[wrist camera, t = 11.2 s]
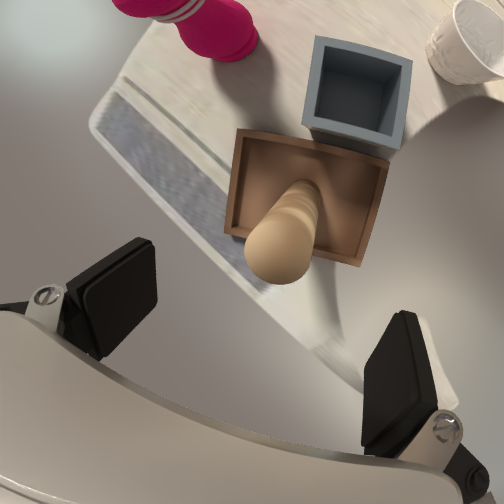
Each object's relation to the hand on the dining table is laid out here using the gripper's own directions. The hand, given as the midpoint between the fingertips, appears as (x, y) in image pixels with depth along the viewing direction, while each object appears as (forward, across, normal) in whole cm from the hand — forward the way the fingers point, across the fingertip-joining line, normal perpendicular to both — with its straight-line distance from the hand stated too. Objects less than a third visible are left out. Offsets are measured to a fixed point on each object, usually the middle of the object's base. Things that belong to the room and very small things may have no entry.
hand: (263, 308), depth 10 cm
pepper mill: (+22, +12, -16) cm, 30 cm away
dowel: (+21, +1, +1) cm, 21 cm away
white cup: (+23, -13, -20) cm, 33 cm away
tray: (+22, +1, +1) cm, 22 cm away
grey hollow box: (+22, -2, -10) cm, 24 cm away
